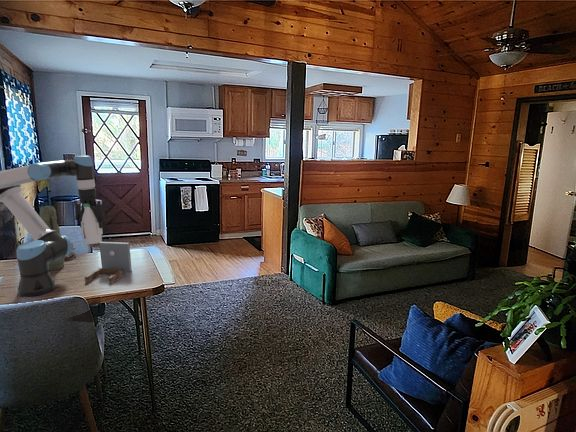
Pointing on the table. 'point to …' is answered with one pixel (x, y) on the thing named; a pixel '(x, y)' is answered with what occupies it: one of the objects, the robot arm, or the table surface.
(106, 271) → the notch cradle
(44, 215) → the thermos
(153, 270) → the table surface
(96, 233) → the milk bottle
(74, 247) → the gray elephant figurine
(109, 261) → the wall panel
